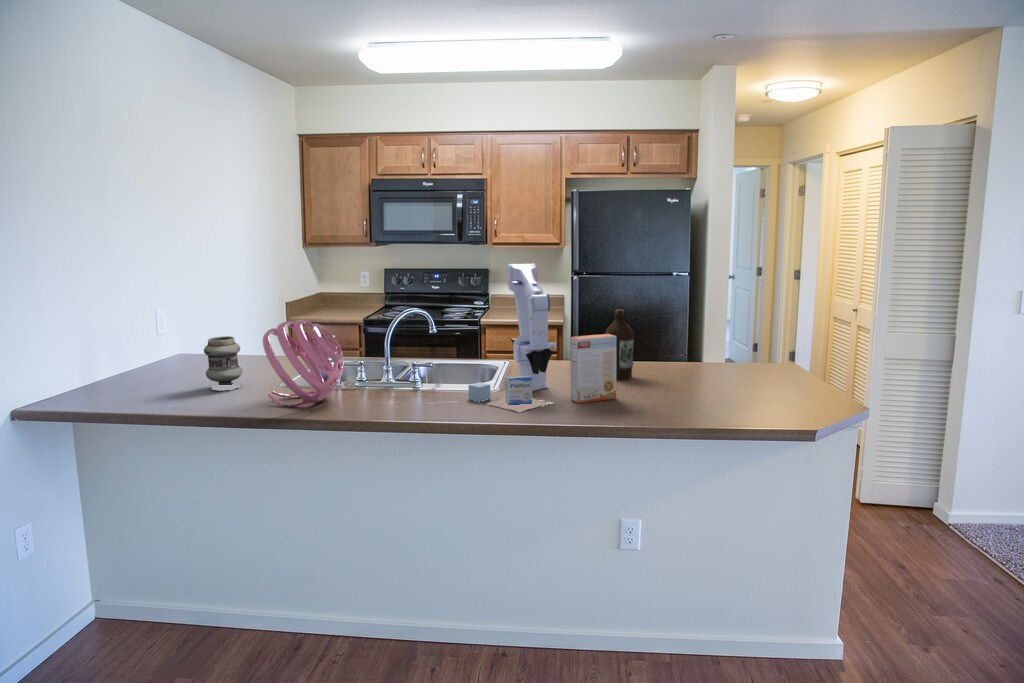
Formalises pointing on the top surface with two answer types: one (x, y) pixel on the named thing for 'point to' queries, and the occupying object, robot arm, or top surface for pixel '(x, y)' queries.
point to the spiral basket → (306, 360)
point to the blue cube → (479, 391)
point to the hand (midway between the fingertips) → (539, 372)
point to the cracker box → (593, 368)
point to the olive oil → (622, 345)
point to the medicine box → (518, 390)
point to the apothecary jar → (223, 360)
